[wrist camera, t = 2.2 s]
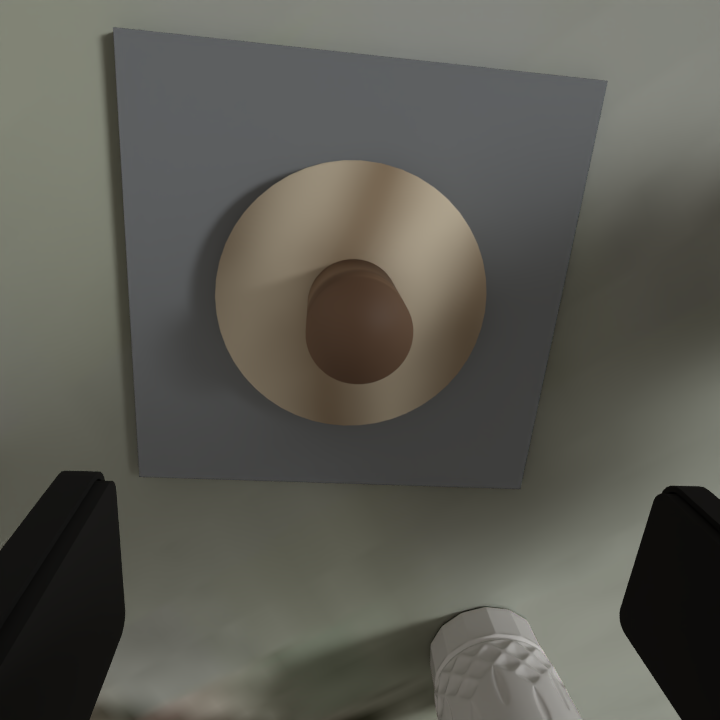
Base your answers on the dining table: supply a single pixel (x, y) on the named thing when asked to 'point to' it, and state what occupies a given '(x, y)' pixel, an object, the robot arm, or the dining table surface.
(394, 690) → the dining table surface
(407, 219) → the lid
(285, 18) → the dining table surface
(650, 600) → the robot arm
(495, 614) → the white cup
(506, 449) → the mat
